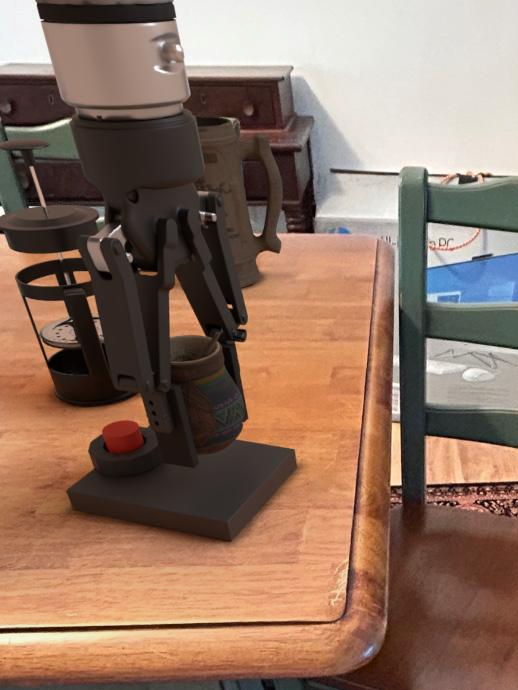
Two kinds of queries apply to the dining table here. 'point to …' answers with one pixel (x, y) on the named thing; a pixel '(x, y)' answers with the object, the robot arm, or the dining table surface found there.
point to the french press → (62, 291)
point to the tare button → (122, 436)
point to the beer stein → (240, 190)
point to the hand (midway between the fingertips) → (208, 439)
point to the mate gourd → (206, 391)
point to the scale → (183, 486)
